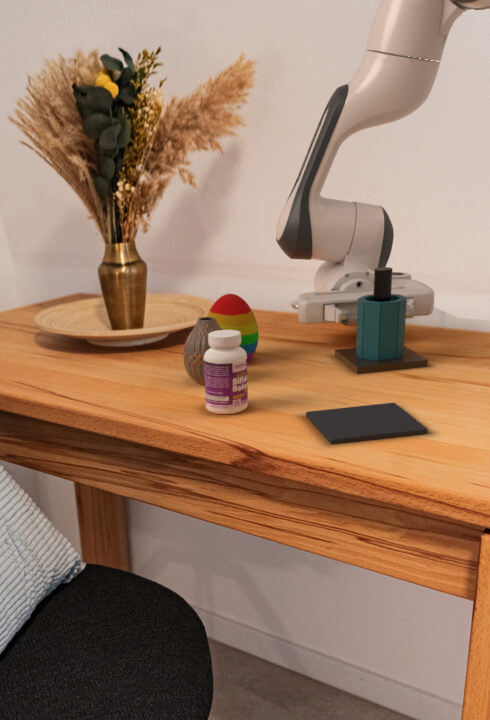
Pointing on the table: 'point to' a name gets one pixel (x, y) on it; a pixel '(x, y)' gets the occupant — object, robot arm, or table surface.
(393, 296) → the teal octagonal cup
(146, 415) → the table surface
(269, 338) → the table surface
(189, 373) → the vase
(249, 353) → the decorative egg
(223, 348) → the pill bottle
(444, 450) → the table surface
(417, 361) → the post
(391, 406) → the felt pad
